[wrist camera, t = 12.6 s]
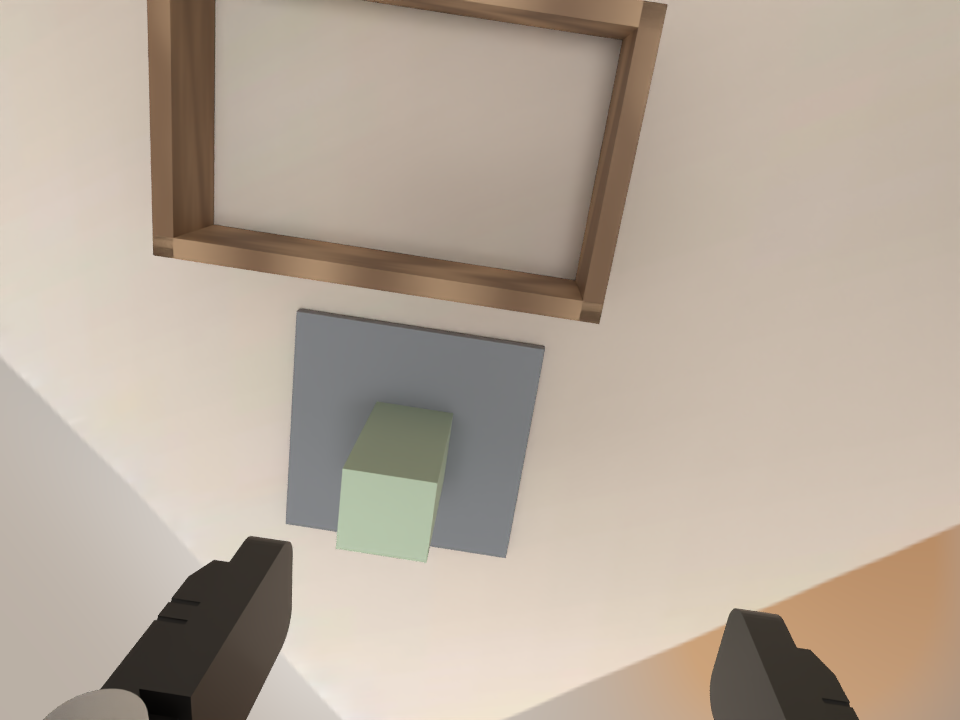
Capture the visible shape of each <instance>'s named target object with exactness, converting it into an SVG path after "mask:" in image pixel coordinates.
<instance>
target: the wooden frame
mask: <svg viewBox="0 0 960 720" xmlns="http://www.w3.org/2000/svg"><path fill="white" fill-rule="evenodd" d="M364 1H371V2H377V3H384V4H390V5H397V6H404V7H410V8H417V9H423V10H430V11H436V12H443V13H449V14H456V15H462V16H469V17H476V18H482V19H489V20H495V21H502V22H508V23H515V24H521V25H528V26H534V27H541V28H548V29H554V30H561V31H567V32H574V33H580V34H587V35H593V36H600V37H606V38H613V39H620V40H623V41H622V46H621V51H620V56H619V61H618V66H617V71H616V76H615V81H614V87H613V92H612V97H611V102H610V107H609V112H608V117H607V122H606V127H605V132H604V137H603V142H602V147H601V153H600V158H599V163H598V168H597V173H596V178H595V183H594V188H593V193H592V198H591V203H590V208H589V213H588V219H587V224H586V229H585V234H584V239H583V244H582V249H581V254H580V259H579V264H578V269H577V274H576V280H569V279H563V278H556V277H550V276H543V275H537V274H530V273H524V272H517V271H511V270H504V269H498V268H491V267H485V266H478V265H472V264H465V263H459V262H452V261H446V260H439V259H433V258H427V257H420V256H414V255H407V254H401V253H394V252H388V251H381V250H375V249H368V248H362V247H355V246H349V245H342V244H336V243H329V242H323V241H316V240H310V239H303V238H297V237H290V236H284V235H277V234H271V233H264V232H258V231H251V230H245V229H238V228H232V227H225V226H219V225H213V223H214V78H215V0H147V16H148V58H149V99H150V140H151V182H152V223H153V255H155V256H162V257H168V258H175V259H181V260H188V261H194V262H201V263H207V264H214V265H220V266H227V267H233V268H240V269H246V270H253V271H259V272H266V273H272V274H279V275H285V276H292V277H298V278H304V279H311V280H317V281H324V282H330V283H337V284H343V285H350V286H356V287H363V288H369V289H376V290H382V291H389V292H395V293H402V294H408V295H415V296H421V297H428V298H434V299H441V300H447V301H454V302H460V303H467V304H473V305H480V306H486V307H492V308H499V309H505V310H512V311H518V312H525V313H531V314H538V315H544V316H551V317H557V318H564V319H570V320H577V321H583V322H590V323H596V324H599V322H600V317H601V313H602V308H603V303H604V299H605V294H606V289H607V285H608V280H609V275H610V271H611V266H612V261H613V257H614V252H615V247H616V243H617V238H618V233H619V229H620V224H621V219H622V215H623V210H624V205H625V201H626V196H627V192H628V187H629V182H630V178H631V173H632V168H633V164H634V159H635V154H636V150H637V145H638V140H639V136H640V131H641V126H642V122H643V117H644V112H645V108H646V103H647V98H648V94H649V89H650V84H651V80H652V75H653V70H654V66H655V61H656V56H657V52H658V47H659V42H660V38H661V33H662V28H663V24H664V19H665V14H666V10H667V5H668V4H662V3H655V2H648V1H642V0H364Z"/></svg>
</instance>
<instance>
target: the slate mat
mask: <svg viewBox="0 0 960 720" xmlns="http://www.w3.org/2000/svg"><path fill="white" fill-rule="evenodd" d="M544 351H545V348H544V346H539V345H532V344H526V343H519V342H513V341H507V340H500V339H494V338H487V337H481V336H474V335H468V334H461V333H455V332H448V331H442V330H435V329H429V328H422V327H416V326H409V325H403V324H396V323H390V322H383V321H377V320H371V319H364V318H358V317H351V316H345V315H338V314H332V313H325V312H319V311H312V310H306V309H299V310H298V311H297V317H296V336H295V355H294V375H293V394H292V413H291V433H290V452H289V472H288V491H287V510H286V524H290V525H297V526H303V527H310V528H316V529H322V530H329V531H335V532H337V530H338V518H339V505H340V493H341V481H342V469H343V467H344V465H345V463H346V461H347V459H348V457H349V455H350V453H351V451H352V449H353V447H354V445H355V443H356V441H357V439H358V437H359V435H360V433H361V432H362V430H363V428H364V426H365V424H366V422H367V420H368V418H369V416H370V414H371V412H372V410H373V408H374V406H375V404H376V402H383V403H390V404H396V405H403V406H409V407H416V408H422V409H429V410H435V411H442V412H448V413H453V419H452V426H451V433H450V440H449V447H448V454H447V461H446V468H445V475H444V481H443V486H442V491H441V496H440V500H439V505H438V510H437V515H436V519H435V524H434V529H433V534H432V538H431V543H430V546H432V547H438V548H445V549H451V550H457V551H464V552H470V553H477V554H483V555H490V556H496V557H502V558H506V553H507V548H508V543H509V537H510V532H511V527H512V521H513V516H514V511H515V505H516V500H517V495H518V489H519V484H520V479H521V473H522V468H523V463H524V457H525V452H526V447H527V442H528V436H529V431H530V426H531V420H532V415H533V410H534V404H535V399H536V394H537V388H538V383H539V378H540V372H541V367H542V362H543V356H544Z"/></svg>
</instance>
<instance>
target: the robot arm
mask: <svg viewBox="0 0 960 720" xmlns="http://www.w3.org/2000/svg"><path fill="white" fill-rule="evenodd" d="M292 558H293V551H292V545H291V543H290V542H288V541H281V540H274V539H267V538H260V537H254V536H250V537H248V538H247V539H246V540H245V541H244V542H243V544H242V545H241V547H240V548H239V549H238V551H237V552H236V554H235V555H234V556H233V558H232V559H231V561H230V562H224V561H217V560H213V561H212V562H210V563H209V564H207V565H206V566H204V567H203V568H201V569H199V570H198V571H196V572H195V573H193V574H192V575H190V576H189V577H188V578H187V579H186V580H185V582H184V583H183V584H182V586H181V587H180V588H179V589H178V591H177V592H176V593H175V595H174V596H173V597H172V601H171V602H168V604H167V605H166V606H165V607H164V609H163V610H162V611H161V612H160V614H159V615H158V619H157V620H154V621H153V623H152V624H151V625H150V627H149V628H148V629H147V631H146V632H145V633H144V634H143V636H142V637H141V638H140V639H139V641H138V642H137V643H136V644H135V646H134V647H133V648H132V650H131V651H130V652H129V654H128V655H127V656H126V657H125V658H124V660H123V661H122V662H121V664H120V665H119V666H118V667H117V669H116V670H115V671H114V672H113V674H112V675H111V676H110V678H109V679H108V680H107V681H106V683H105V684H104V685H103V687H102V688H101V689H100V690H95V691H92V692H87V693H84V694H82V695H79V696H77V697H74V698H72V699H70V700H68V701H67V702H65V703H63V704H62V705H60V706H58V707H57V708H56V709H55V710H53V711H52V712H51V713H50V714H48V716H46V717H45V718H44V719H43V720H246V719H247V717H248V715H249V713H250V710H251V708H252V707H253V705H254V703H255V701H256V699H257V697H258V695H259V693H260V691H261V689H262V687H263V684H264V683H265V680H266V678H267V676H268V674H269V672H270V670H271V668H272V666H273V664H274V662H275V660H276V658H277V656H278V654H279V652H280V650H281V648H282V646H283V644H284V641H285V639H286V636H287V632H288V628H289V624H290V619H291V611H292ZM710 702H711V709H712V714H713V718H714V720H859V719H858V717H857V715H856V713H855V711H854V709H853V708H851V707H850V706H849V703H850V702H849V700H848V698H847V696H846V695H845V693H844V691H843V689H842V687H841V685H840V683H839V682H838V680H837V678H836V676H835V675H834V673H833V672H831V670H830V669H829V668H828V667H827V666H825V664H823V662H822V661H821V660H820V659H819V658H818V657H817V656H816V655H815V654H814V653H813V652H812V651H811V650H808V649H801V648H797V647H796V645H795V643H794V641H793V639H792V637H791V635H790V633H789V631H788V629H787V627H786V625H785V623H784V621H783V619H782V618H781V617H780V616H779V615H777V614H770V613H764V612H757V611H750V610H743V609H737V608H735V609H733V610H732V611H731V613H730V615H729V617H728V620H727V624H726V627H725V631H724V634H723V637H722V641H721V645H720V648H719V651H718V654H717V658H716V662H715V665H714V669H713V672H712V676H711V682H710Z"/></svg>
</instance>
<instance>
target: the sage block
mask: <svg viewBox="0 0 960 720" xmlns="http://www.w3.org/2000/svg"><path fill="white" fill-rule="evenodd" d="M452 419H453V413H448V412H442V411H435V410H429V409H422V408H416V407H409V406H403V405H396V404H390V403H383V402H376V404H375V406H374V408H373V410H372V412H371V414H370V416H369V418H368V420H367V422H366V424H365V426H364V428H363V430H362V432H361V433H360V435H359V437H358V439H357V441H356V443H355V445H354V447H353V449H352V451H351V453H350V455H349V457H348V459H347V461H346V463H345V465H344V467H343V469H342V481H341V493H340V505H339V518H338V530H337V542H336V549H341V550H348V551H354V552H361V553H367V554H374V555H380V556H386V557H393V558H399V559H406V560H412V561H419V562H425V563H426V562H427V557H428V553H429V548H430V543H431V538H432V534H433V529H434V524H435V519H436V515H437V510H438V505H439V500H440V496H441V491H442V486H443V481H444V475H445V468H446V461H447V454H448V447H449V440H450V433H451V426H452Z"/></svg>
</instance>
